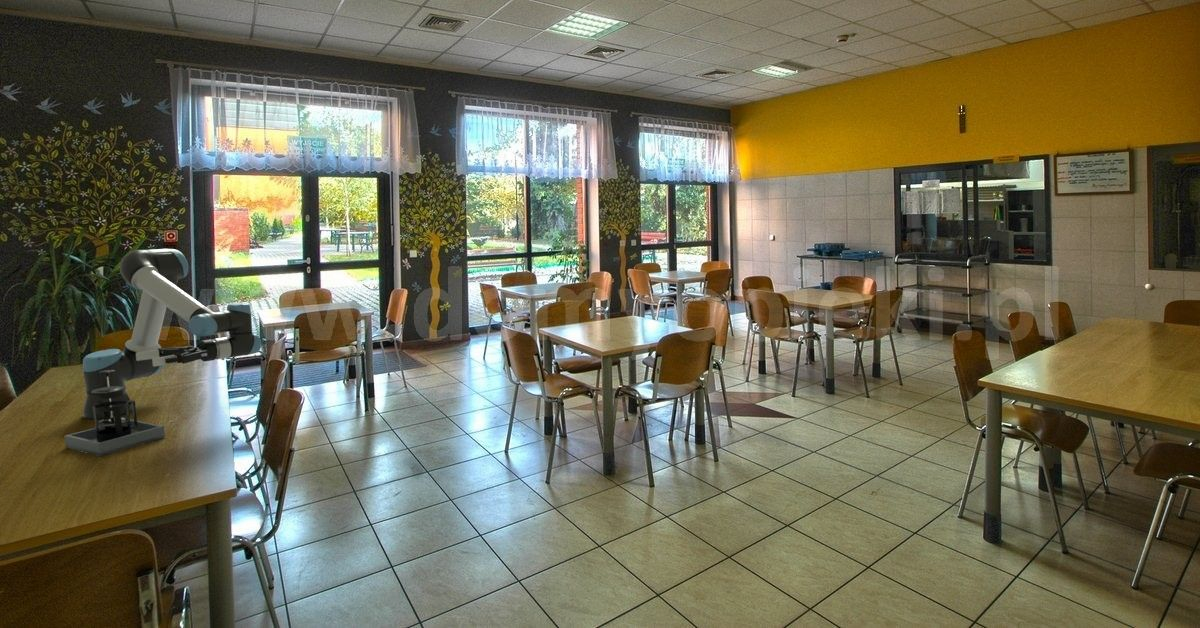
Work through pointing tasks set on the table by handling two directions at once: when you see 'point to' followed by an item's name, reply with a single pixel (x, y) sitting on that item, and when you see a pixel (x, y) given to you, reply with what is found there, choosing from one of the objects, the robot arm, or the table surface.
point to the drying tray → (139, 436)
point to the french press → (117, 419)
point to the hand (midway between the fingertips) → (144, 359)
